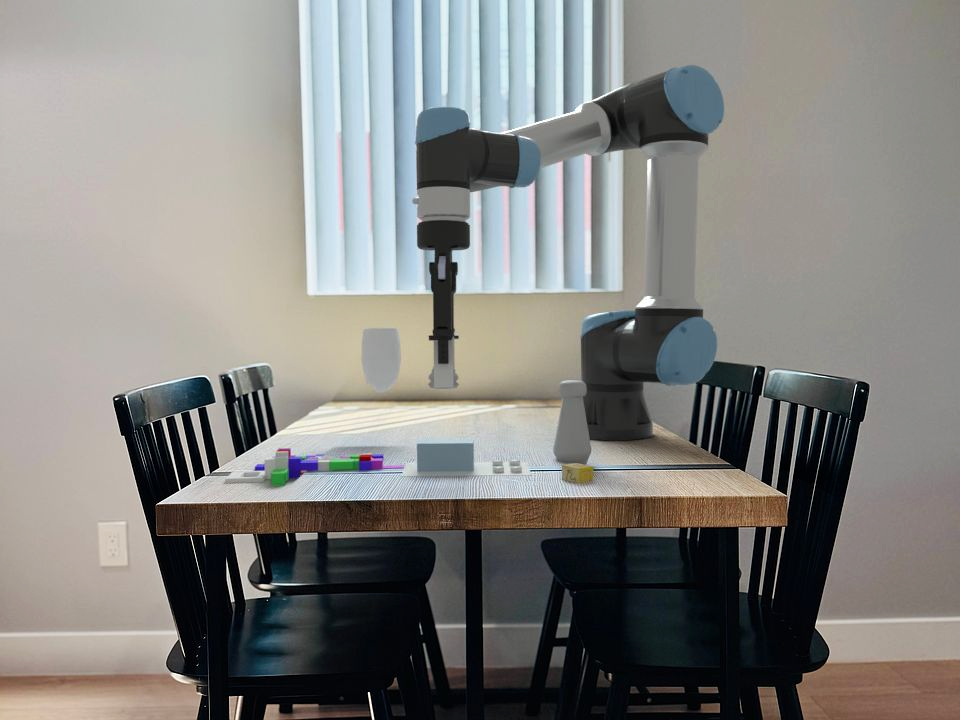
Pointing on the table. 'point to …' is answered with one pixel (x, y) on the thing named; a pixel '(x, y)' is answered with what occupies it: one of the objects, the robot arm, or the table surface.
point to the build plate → (477, 469)
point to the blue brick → (445, 455)
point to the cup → (381, 357)
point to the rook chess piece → (453, 376)
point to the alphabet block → (577, 472)
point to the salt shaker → (572, 424)
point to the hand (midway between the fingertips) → (444, 385)
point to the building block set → (305, 466)
